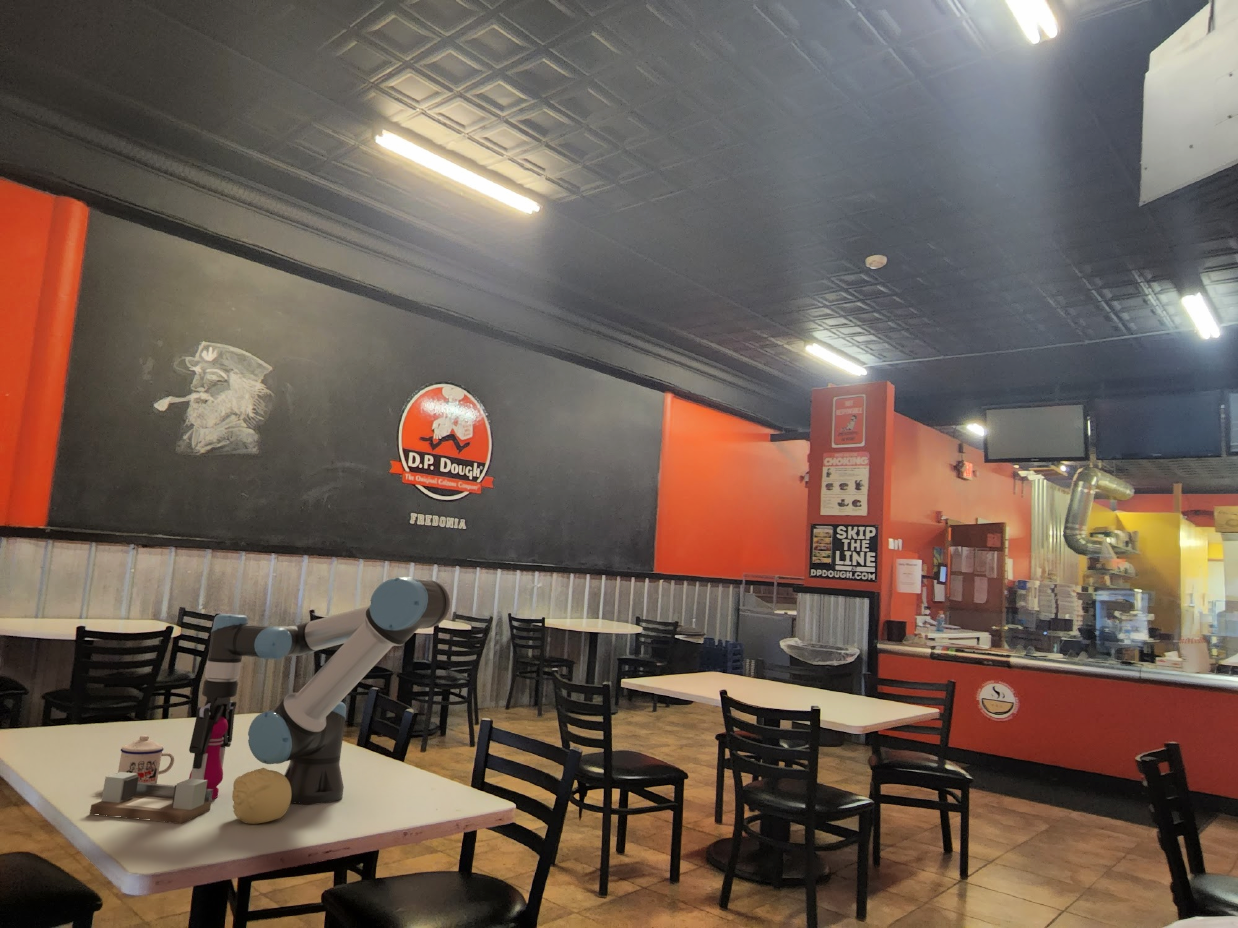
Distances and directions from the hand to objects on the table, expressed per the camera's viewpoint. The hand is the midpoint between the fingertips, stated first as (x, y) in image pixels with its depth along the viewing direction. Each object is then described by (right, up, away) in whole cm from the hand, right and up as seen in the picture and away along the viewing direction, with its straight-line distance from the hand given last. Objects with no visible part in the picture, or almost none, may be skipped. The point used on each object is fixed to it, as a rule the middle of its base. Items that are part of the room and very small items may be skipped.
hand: (205, 778), depth 189 cm
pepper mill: (0, -4, -1) cm, 4 cm away
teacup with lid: (-18, -4, +5) cm, 19 cm away
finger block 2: (+4, 0, -15) cm, 16 cm away
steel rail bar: (-4, 0, -10) cm, 11 cm away
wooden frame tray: (-4, -1, -15) cm, 16 cm away
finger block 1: (-11, +1, -14) cm, 19 cm away
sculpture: (+19, -3, -15) cm, 24 cm away
